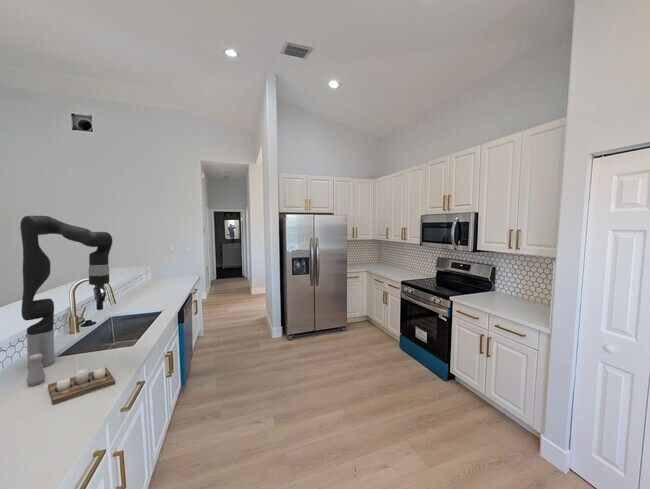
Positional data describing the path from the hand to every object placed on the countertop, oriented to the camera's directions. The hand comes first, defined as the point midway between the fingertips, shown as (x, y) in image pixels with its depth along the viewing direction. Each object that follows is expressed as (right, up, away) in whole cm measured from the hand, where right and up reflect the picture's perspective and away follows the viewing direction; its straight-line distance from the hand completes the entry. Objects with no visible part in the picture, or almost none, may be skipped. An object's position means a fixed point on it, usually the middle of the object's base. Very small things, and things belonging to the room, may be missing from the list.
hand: (99, 309), depth 130 cm
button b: (+1, -30, -10) cm, 31 cm away
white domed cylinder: (-3, -32, -14) cm, 35 cm away
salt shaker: (-21, -31, -9) cm, 39 cm away
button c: (+4, -31, -5) cm, 32 cm away
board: (0, -32, -10) cm, 33 cm away
